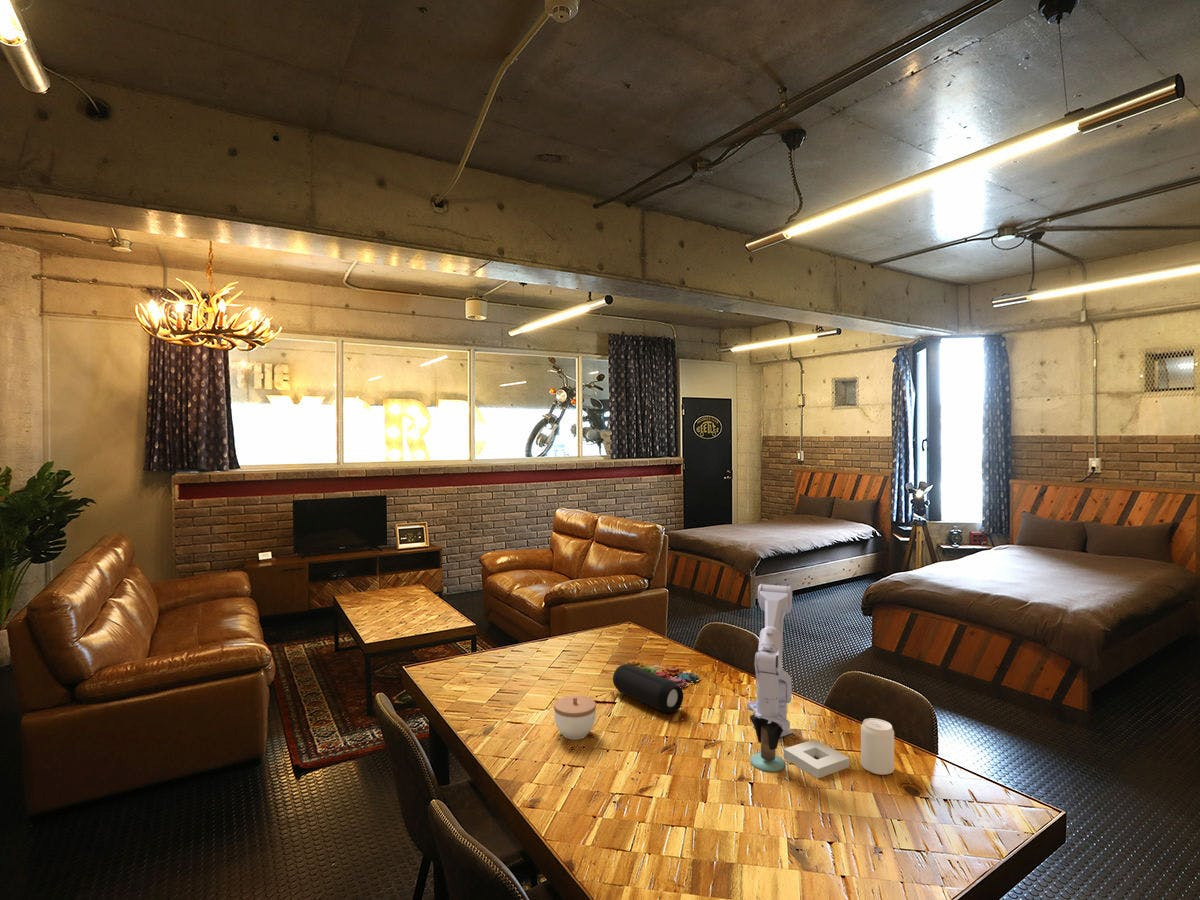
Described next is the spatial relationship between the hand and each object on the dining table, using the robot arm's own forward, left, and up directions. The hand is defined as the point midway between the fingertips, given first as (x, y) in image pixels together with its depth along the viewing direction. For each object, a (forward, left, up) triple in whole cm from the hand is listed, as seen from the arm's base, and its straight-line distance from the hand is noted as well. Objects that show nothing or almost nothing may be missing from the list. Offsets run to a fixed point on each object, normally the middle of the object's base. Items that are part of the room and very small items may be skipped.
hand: (767, 745), depth 167 cm
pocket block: (+6, +12, -5) cm, 14 cm away
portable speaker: (-49, -8, -5) cm, 50 cm away
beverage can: (+16, +24, -5) cm, 29 cm away
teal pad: (0, 0, -5) cm, 5 cm away
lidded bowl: (-40, -39, -5) cm, 56 cm away
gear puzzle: (-68, +9, -6) cm, 69 cm away
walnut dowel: (0, 0, -3) cm, 3 cm away
